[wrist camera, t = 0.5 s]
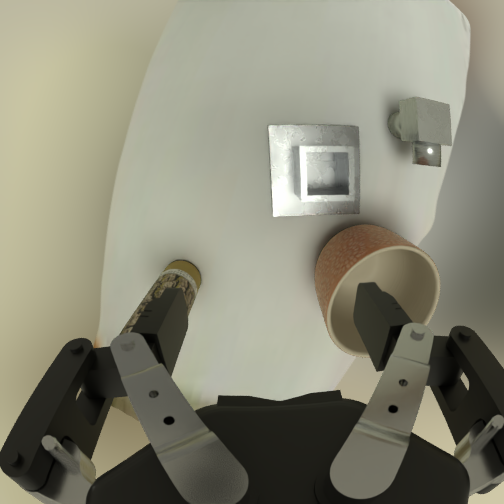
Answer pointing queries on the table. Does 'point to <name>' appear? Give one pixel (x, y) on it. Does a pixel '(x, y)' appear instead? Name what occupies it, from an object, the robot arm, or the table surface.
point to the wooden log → (172, 277)
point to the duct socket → (314, 169)
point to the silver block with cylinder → (423, 128)
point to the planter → (372, 279)
